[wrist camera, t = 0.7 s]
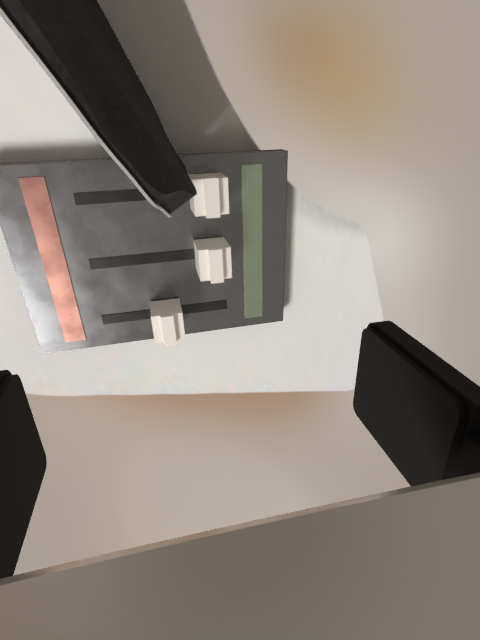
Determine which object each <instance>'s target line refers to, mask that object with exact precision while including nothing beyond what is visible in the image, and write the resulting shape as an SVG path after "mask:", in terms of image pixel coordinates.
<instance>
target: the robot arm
mask: <svg viewBox="0 0 480 640" xmlns="http://www.w3.org/2000/svg"><path fill="white" fill-rule="evenodd" d="M353 407H354V410H355V413H356V415H357V416H358V417H359V419H360V420H361V421H362V423H363V424H364V425H365V427H366V428H367V429H368V431H369V432H370V433H371V435H372V436H373V437H374V438H375V440H376V441H377V442H378V444H379V445H380V446H381V448H382V449H383V450H384V452H385V453H386V454H387V455H388V457H389V458H390V459H391V461H392V462H393V463H394V465H395V466H396V467H397V468H398V470H399V471H400V472H401V474H402V475H403V476H404V477H405V479H406V480H407V482H408V483H409V484H410V486H411V487H407V488H402V489H397V490H393V491H388V492H383V493H379V494H374V495H369V496H365V497H360V498H355V499H351V500H346V501H341V502H337V503H332V504H328V505H323V506H318V507H314V508H310V509H305V510H300V511H296V512H291V513H286V514H282V515H277V516H273V517H268V518H264V519H259V520H255V521H250V522H246V523H241V524H237V525H232V526H228V527H223V528H219V529H214V530H210V531H205V532H201V533H196V534H192V535H188V536H183V537H178V538H174V539H170V540H165V541H161V542H157V543H152V544H147V545H143V546H139V547H134V548H130V549H125V550H121V551H117V552H112V553H108V554H103V555H99V556H95V557H90V558H86V559H81V560H77V561H73V562H68V563H64V564H60V565H56V566H52V567H48V568H44V569H39V570H35V571H31V572H27V573H23V574H19V575H14V576H13V574H14V570H15V567H16V564H17V561H18V558H19V554H20V551H21V548H22V545H23V541H24V538H25V535H26V531H27V528H28V525H29V522H30V519H31V515H32V512H33V509H34V505H35V502H36V499H37V496H38V493H39V490H40V486H41V483H42V480H43V476H44V473H45V469H46V455H45V452H44V449H43V446H42V443H41V440H40V437H39V434H38V431H37V428H36V424H35V422H34V418H33V415H32V412H31V409H30V406H29V403H28V400H27V397H26V394H25V391H24V388H23V385H22V382H21V379H20V377H19V376H18V375H17V374H16V375H12V374H11V373H10V371H8V370H2V371H0V640H480V387H479V386H478V385H476V384H475V383H474V382H473V381H471V380H470V379H469V378H467V377H466V376H464V375H463V374H462V373H460V372H459V371H458V370H456V369H455V368H454V367H452V366H451V365H450V364H448V363H447V362H445V361H444V360H442V359H441V358H440V357H439V356H437V355H436V354H435V353H433V352H432V351H431V350H429V349H428V348H427V347H425V346H424V345H422V344H421V343H419V342H418V341H417V340H416V339H414V338H413V337H412V336H410V335H409V334H407V333H406V332H405V331H403V330H402V329H401V328H399V327H398V326H397V325H395V324H394V323H393V322H391V321H383V322H375V323H370V324H369V325H368V327H367V328H366V329H364V330H363V332H362V338H361V345H360V353H359V361H358V369H357V377H356V384H355V392H354V400H353Z"/></svg>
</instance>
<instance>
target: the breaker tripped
mask: <svg viewBox="0 0 480 640" xmlns="http://www.w3.org/2000/svg"><path fill="white" fill-rule="evenodd" d="M150 313H151V322H152V328H153V334H154V341H155V344H157V343H164V345H165V346H172V345H177V341H178V340H185V331H184V322H183V313H182V308H181V304H180V299H179V298H175V299H167V300H159V301H150Z"/></svg>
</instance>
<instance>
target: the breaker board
mask: <svg viewBox="0 0 480 640" xmlns="http://www.w3.org/2000/svg"><path fill="white" fill-rule="evenodd" d="M178 156H179V158H180V159H181V160H182V162H183V163H184V165H185V167H186V170H187V173H188V174H203V173H219V172H220V173H222V174H223V175H225V176H226V177H228V193H229V214H222V215H220V218H208V219H207V218H206V216H198V217H195V215H194V214H193V212H192V210H191V207H190V200H188V201H187V202H186V203H184V204H183V205H182V206H180V207H179V208H178V209H176V210H175V211H174V212H172V213H171V215H172V217H170V218H169V217H167V216H166V215H165V214H164V213H163V212H162V211H161V210H159V209H157V208H155V207H153V206H152V205H151V204H150V203H149V202H148V200H147V199H146V198H145V197H144V196H143V194H142V193H141V192H140V191H139V189H138V188H137V187H136V186H135V184H134V183H133V182H132V181H131V180H130V178H129V177H128V176H127V175H126V174H125V173H124V171H123V170H122V169H121V168H120V167H119V166H118V165H117V163H116V162H115V161H114V160H113V159H112V158H102V159H82V160H63V161H43V162H24V163H4V164H0V226H1V229H2V232H3V235H4V238H5V241H6V244H7V247H8V250H9V253H10V256H11V259H12V262H13V265H14V268H15V271H16V274H17V277H18V280H19V283H20V286H21V289H22V292H23V295H24V298H25V302H26V305H27V308H28V311H29V314H30V317H31V320H32V323H33V326H34V329H35V332H36V335H37V338H38V341H39V344H40V347H41V350H42V353H43V354H44V353H51V352H59V351H66V350H73V349H80V348H88V347H95V346H102V345H109V344H117V343H124V342H131V341H139V340H146V339H153V338H154V334H153V328H152V322H151V313H150V301H159V300H167V299H175V298H179V299H180V304H181V308H182V313H183V322H184V331H185V334H189V333H197V332H204V331H211V330H218V329H226V328H233V327H240V326H247V325H255V324H262V323H269V322H276V321H283V301H284V265H285V230H286V194H287V158H288V151H286V150H281V149H279V150H259V151H240V152H220V153H200V154H181V155H178ZM218 237H224V238H225V240H226V241H227V243H228V244H229V245H230V247H231V264H232V278H227V279H224V282H223V283H214V284H211V282H210V281H200V278H199V276H198V273H197V270H196V263H195V252H194V241H193V240H196V239H207V238H218Z"/></svg>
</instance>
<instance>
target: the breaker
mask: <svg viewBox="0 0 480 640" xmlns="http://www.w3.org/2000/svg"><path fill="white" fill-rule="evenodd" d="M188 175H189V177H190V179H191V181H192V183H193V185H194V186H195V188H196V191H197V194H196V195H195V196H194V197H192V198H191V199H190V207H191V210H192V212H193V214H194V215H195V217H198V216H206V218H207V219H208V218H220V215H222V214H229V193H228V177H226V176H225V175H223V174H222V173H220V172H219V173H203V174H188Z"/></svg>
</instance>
